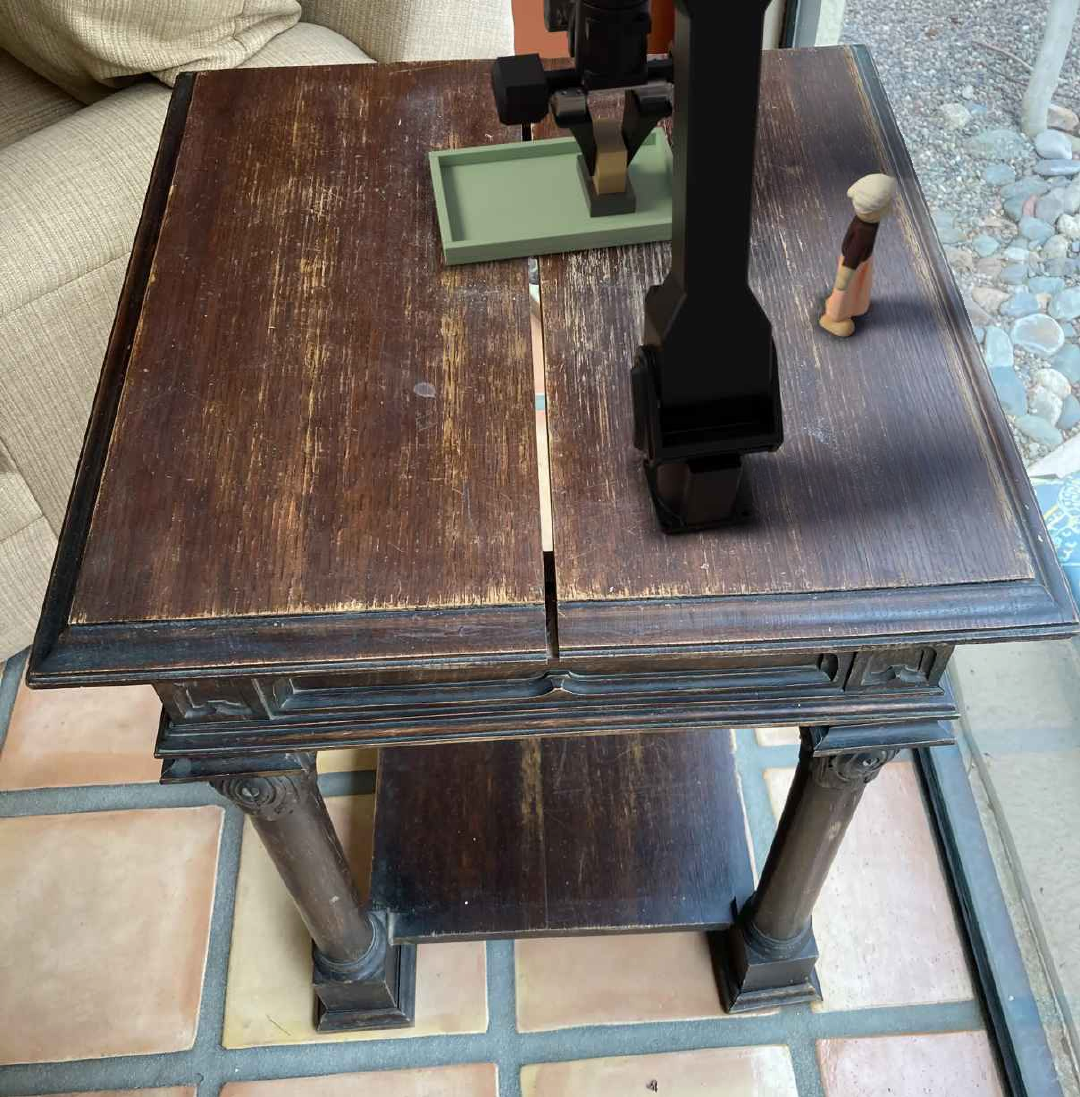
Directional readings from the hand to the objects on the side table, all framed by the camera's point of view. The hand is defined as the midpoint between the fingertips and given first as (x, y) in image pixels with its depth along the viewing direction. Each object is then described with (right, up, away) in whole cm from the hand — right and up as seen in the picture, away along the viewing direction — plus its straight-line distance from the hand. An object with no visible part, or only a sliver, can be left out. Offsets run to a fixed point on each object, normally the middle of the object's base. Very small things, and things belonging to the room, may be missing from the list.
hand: (606, 171), depth 91 cm
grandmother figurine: (+18, -14, -7) cm, 24 cm away
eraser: (0, -1, +2) cm, 2 cm away
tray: (-4, -2, +2) cm, 5 cm away
